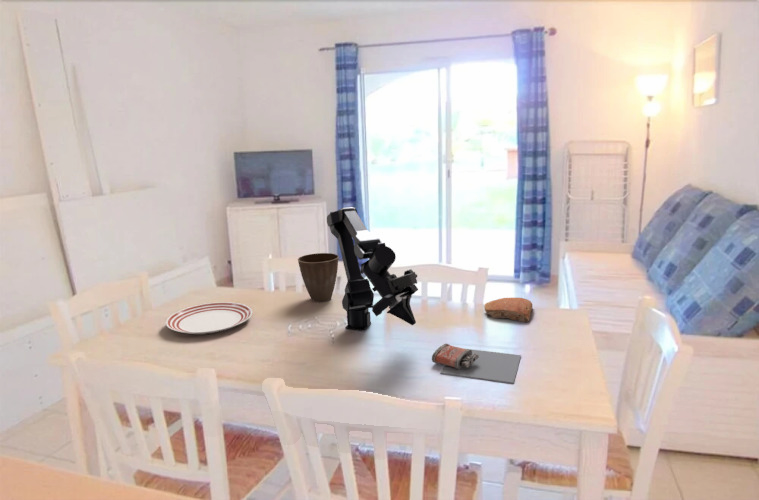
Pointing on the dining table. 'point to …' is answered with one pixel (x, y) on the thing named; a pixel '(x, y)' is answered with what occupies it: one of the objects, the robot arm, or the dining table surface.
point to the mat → (488, 367)
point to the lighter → (454, 356)
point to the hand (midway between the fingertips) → (414, 324)
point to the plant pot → (319, 274)
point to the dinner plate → (209, 317)
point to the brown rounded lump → (510, 308)
